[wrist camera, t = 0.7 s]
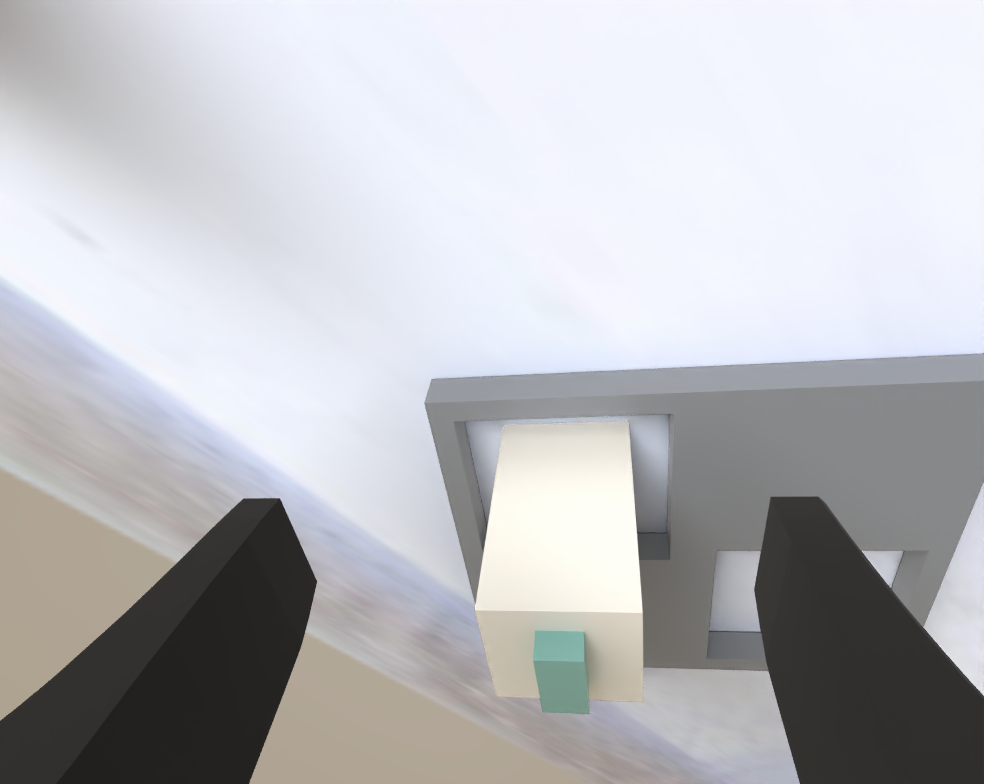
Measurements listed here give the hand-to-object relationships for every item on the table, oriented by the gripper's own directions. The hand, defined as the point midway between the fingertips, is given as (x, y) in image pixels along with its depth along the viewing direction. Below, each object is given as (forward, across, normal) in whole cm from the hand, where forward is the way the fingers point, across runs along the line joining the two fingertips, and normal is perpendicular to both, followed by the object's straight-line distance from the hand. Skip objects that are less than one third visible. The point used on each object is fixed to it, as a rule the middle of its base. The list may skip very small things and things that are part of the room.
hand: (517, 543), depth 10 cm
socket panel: (+10, -4, +11) cm, 15 cm away
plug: (+10, 0, +8) cm, 13 cm away
